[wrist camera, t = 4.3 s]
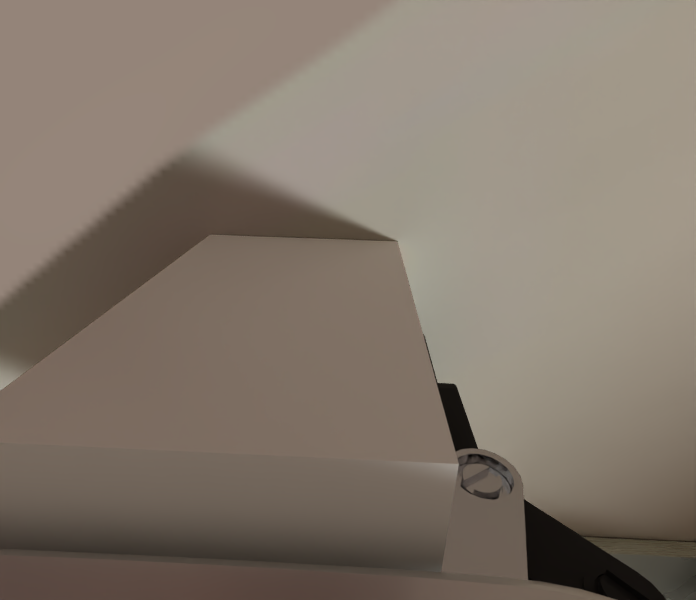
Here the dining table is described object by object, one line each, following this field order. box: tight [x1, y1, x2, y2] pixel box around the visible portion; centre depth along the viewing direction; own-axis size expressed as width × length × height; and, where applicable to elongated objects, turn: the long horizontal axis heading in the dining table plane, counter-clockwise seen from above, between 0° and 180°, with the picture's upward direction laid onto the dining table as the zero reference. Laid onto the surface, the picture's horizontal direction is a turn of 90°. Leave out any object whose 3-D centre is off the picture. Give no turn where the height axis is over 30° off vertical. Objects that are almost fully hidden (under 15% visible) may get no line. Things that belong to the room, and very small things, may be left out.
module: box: [0, 235, 459, 572], centre depth 9 cm, size 7×5×8 cm
